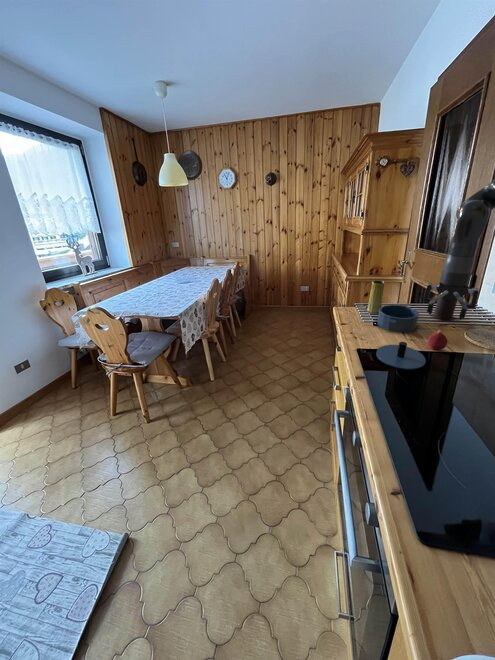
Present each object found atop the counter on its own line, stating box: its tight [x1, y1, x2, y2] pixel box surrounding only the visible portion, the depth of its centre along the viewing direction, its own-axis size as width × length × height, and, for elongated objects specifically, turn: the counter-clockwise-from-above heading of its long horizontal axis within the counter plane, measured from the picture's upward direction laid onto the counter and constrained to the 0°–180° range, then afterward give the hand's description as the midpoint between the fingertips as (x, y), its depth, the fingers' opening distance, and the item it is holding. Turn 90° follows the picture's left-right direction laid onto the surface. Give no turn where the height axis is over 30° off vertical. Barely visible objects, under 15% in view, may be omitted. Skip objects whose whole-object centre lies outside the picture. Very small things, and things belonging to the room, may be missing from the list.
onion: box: [427, 329, 449, 351], centre depth 100 cm, size 6×6×8 cm
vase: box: [366, 279, 385, 314], centre depth 131 cm, size 6×6×14 cm
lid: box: [375, 341, 427, 371], centre depth 97 cm, size 15×15×6 cm
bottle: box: [433, 298, 458, 322], centre depth 119 cm, size 7×7×20 cm
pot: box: [377, 304, 419, 333], centre depth 119 cm, size 14×20×6 cm
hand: (444, 316), depth 96 cm, fingers open, 8 cm apart
